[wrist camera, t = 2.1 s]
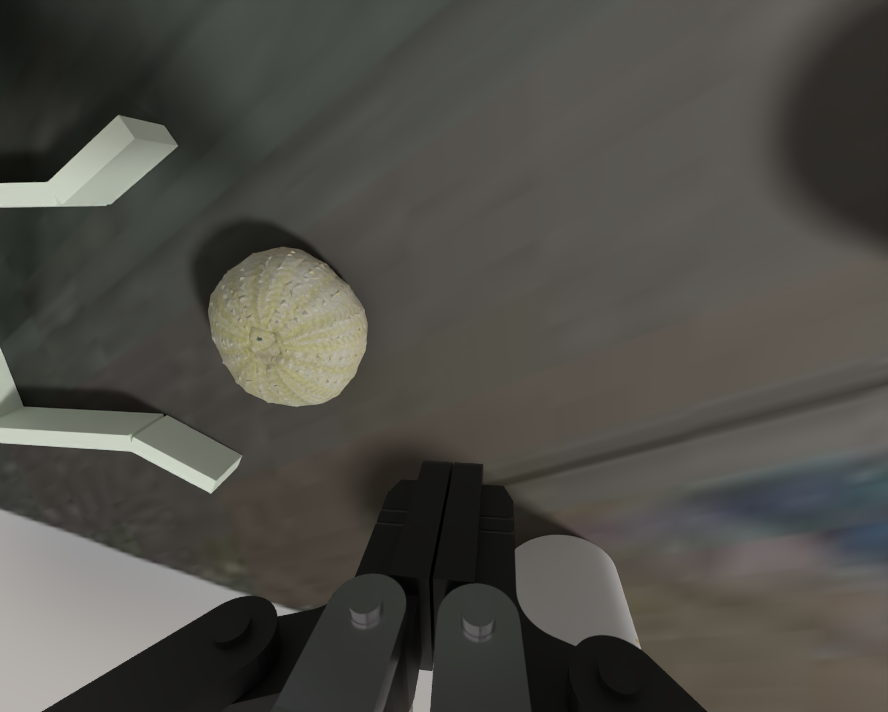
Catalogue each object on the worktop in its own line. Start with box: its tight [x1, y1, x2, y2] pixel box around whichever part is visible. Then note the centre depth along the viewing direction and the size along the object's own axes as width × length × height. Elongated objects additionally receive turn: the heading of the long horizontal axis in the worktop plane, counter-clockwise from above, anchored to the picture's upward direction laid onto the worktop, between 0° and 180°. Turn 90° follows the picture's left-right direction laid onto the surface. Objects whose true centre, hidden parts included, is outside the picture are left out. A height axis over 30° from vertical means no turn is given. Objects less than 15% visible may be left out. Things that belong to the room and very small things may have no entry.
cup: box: [515, 535, 641, 649], centre depth 25 cm, size 8×8×12 cm
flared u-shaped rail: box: [0, 115, 242, 493], centre depth 27 cm, size 22×18×3 cm
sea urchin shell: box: [208, 247, 367, 407], centre depth 25 cm, size 9×8×8 cm
